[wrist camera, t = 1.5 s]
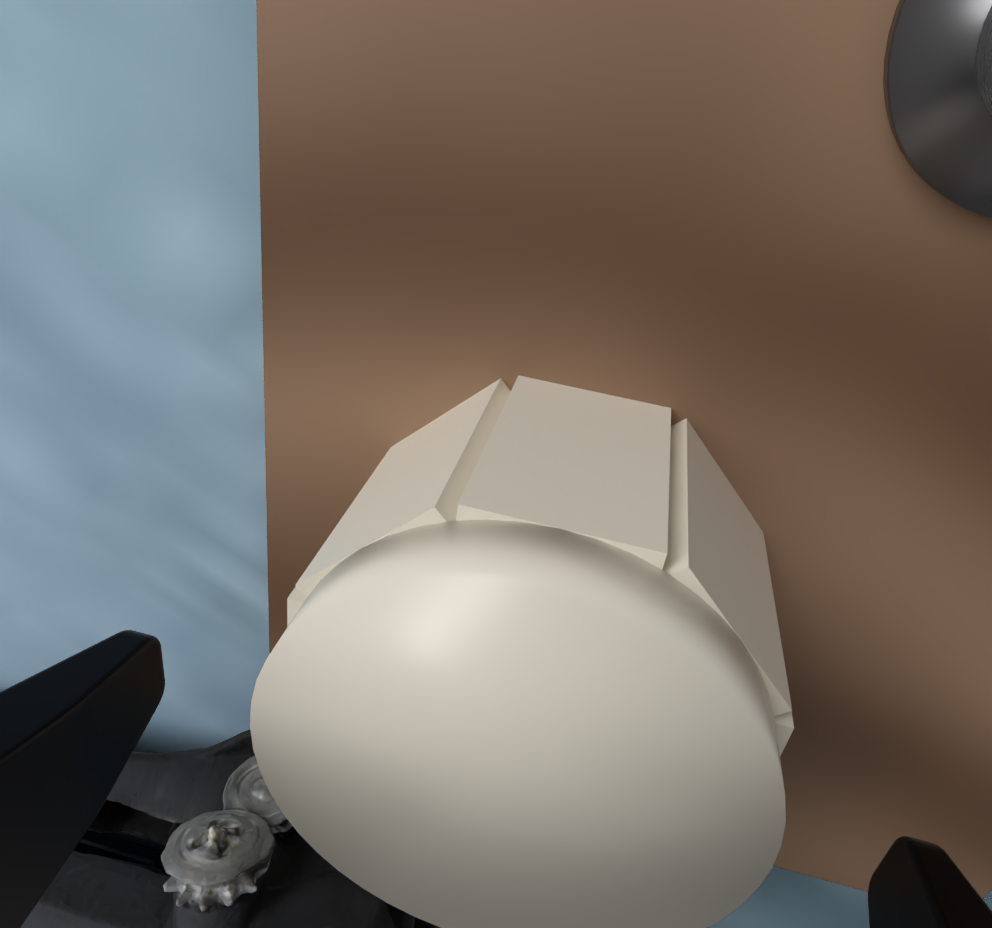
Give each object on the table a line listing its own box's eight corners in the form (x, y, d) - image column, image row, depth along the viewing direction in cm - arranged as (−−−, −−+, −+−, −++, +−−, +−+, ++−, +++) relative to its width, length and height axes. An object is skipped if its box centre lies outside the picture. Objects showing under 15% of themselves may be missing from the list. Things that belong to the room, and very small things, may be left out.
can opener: (476, 719, 17) (393, 995, 12) (459, 902, 20) (389, 1173, 15) (-214, 566, 19) (-511, 743, 14) (-123, 753, 23) (-337, 946, 18)
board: (948, 861, 16) (966, 919, 15) (295, 685, 17) (271, 727, 16) (2216, -834, 5) (2585, -1041, 4) (301, -897, 7) (235, -1060, 6)
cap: (692, 730, 14) (696, 1005, 10) (369, 647, 14) (256, 873, 10) (808, 437, 11) (882, 670, 7) (390, 347, 11) (241, 515, 7)
